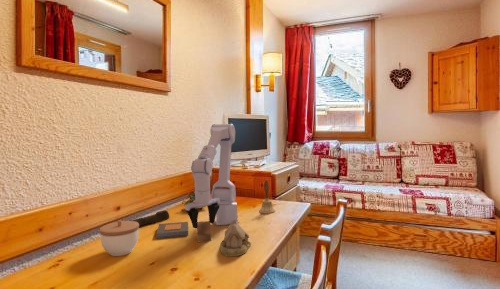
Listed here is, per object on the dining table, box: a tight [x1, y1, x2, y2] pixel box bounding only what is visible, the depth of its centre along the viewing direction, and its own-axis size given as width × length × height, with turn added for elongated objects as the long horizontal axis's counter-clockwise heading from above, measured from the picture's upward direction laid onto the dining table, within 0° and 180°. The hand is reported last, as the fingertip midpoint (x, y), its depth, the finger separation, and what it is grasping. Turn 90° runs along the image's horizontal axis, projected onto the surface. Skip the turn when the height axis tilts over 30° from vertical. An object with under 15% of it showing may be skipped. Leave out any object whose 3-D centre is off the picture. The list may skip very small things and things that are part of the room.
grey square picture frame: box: [155, 221, 189, 240], centre depth 124 cm, size 12×12×2 cm
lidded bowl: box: [99, 219, 140, 257], centre depth 105 cm, size 13×13×11 cm
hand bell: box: [258, 179, 276, 215], centre depth 152 cm, size 8×8×16 cm
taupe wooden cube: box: [196, 220, 212, 243], centre depth 116 cm, size 5×5×6 cm
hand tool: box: [128, 209, 170, 227], centre depth 136 cm, size 19×4×5 cm, turn 134°
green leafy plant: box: [181, 191, 206, 208], centre depth 159 cm, size 11×11×12 cm
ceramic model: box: [219, 220, 252, 257], centre depth 106 cm, size 14×11×10 cm
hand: (203, 225), depth 116 cm, fingers open, 7 cm apart
